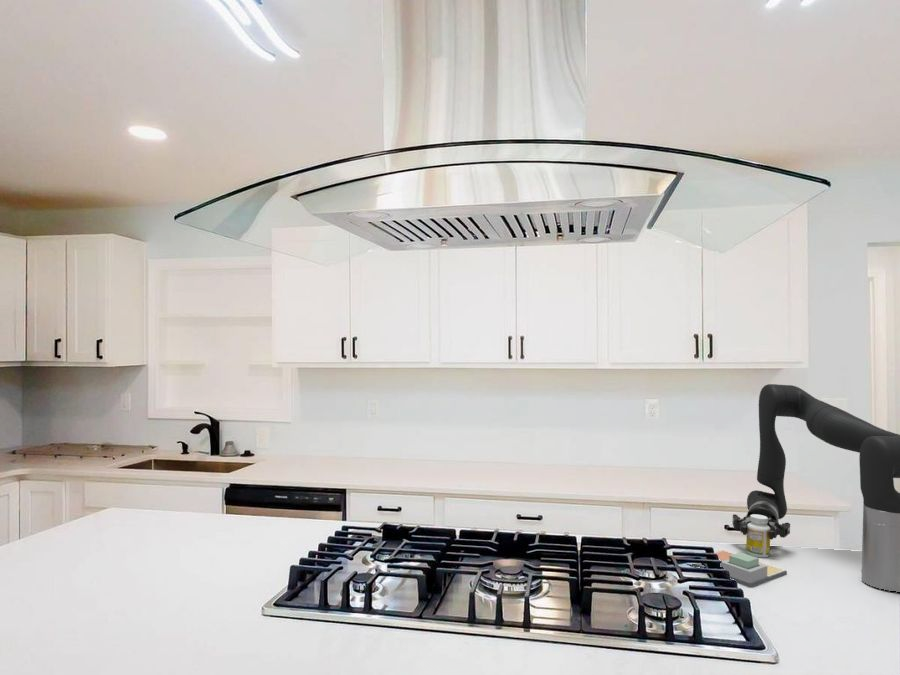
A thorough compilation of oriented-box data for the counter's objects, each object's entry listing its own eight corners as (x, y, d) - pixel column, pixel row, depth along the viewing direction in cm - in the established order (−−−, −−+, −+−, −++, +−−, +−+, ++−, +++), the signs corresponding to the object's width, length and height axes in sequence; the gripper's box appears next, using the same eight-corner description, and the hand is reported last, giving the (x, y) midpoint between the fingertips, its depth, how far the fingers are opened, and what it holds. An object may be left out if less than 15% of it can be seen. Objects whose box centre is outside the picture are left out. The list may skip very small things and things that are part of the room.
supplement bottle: (754, 558, 152) (754, 519, 152) (741, 550, 158) (742, 513, 158) (774, 558, 153) (775, 519, 153) (761, 550, 158) (762, 513, 158)
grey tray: (786, 574, 142) (787, 560, 142) (751, 587, 134) (751, 572, 134) (722, 553, 155) (722, 540, 155) (686, 564, 147) (686, 550, 147)
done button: (758, 569, 138) (758, 558, 138) (747, 572, 136) (748, 561, 136) (739, 563, 142) (740, 552, 142) (729, 566, 139) (729, 555, 139)
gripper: (734, 499, 171) (726, 513, 157) (793, 508, 164) (791, 523, 149) (733, 526, 171) (726, 542, 157) (792, 536, 164) (790, 554, 149)
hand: (757, 533), depth 153 cm, fingers closed on supplement bottle, 5 cm apart
